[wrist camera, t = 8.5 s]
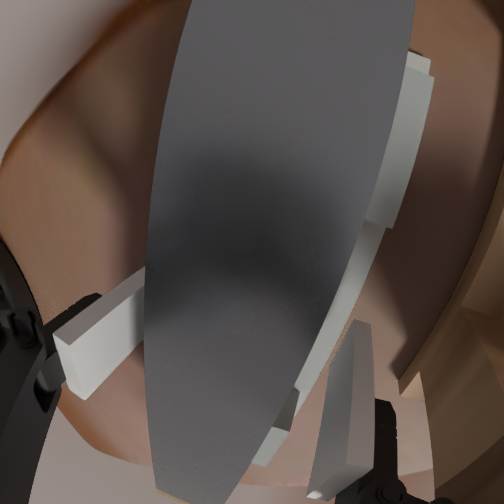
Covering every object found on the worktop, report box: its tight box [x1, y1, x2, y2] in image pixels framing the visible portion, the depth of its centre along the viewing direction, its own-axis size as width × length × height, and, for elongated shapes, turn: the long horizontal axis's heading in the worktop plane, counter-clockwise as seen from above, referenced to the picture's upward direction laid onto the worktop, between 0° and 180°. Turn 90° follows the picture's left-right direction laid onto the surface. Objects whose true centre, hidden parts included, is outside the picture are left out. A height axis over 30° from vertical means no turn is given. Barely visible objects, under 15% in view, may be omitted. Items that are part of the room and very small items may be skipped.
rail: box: [144, 0, 415, 504], centre depth 10 cm, size 26×4×4 cm, turn 167°
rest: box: [251, 51, 434, 467], centre depth 13 cm, size 8×24×3 cm, turn 167°
